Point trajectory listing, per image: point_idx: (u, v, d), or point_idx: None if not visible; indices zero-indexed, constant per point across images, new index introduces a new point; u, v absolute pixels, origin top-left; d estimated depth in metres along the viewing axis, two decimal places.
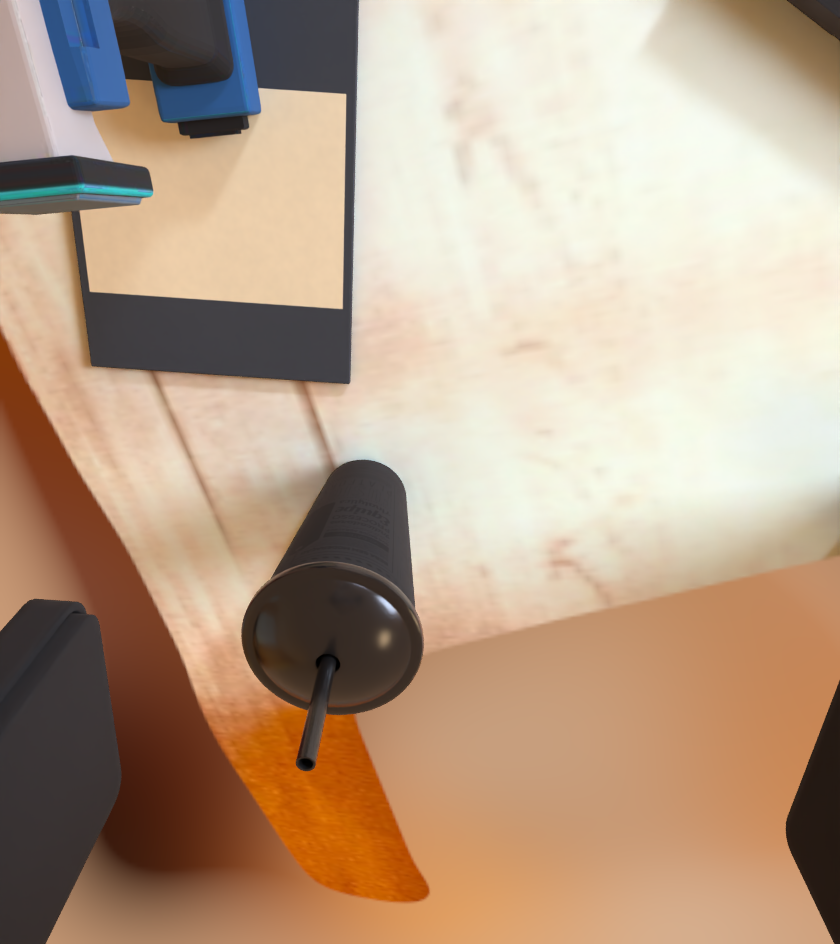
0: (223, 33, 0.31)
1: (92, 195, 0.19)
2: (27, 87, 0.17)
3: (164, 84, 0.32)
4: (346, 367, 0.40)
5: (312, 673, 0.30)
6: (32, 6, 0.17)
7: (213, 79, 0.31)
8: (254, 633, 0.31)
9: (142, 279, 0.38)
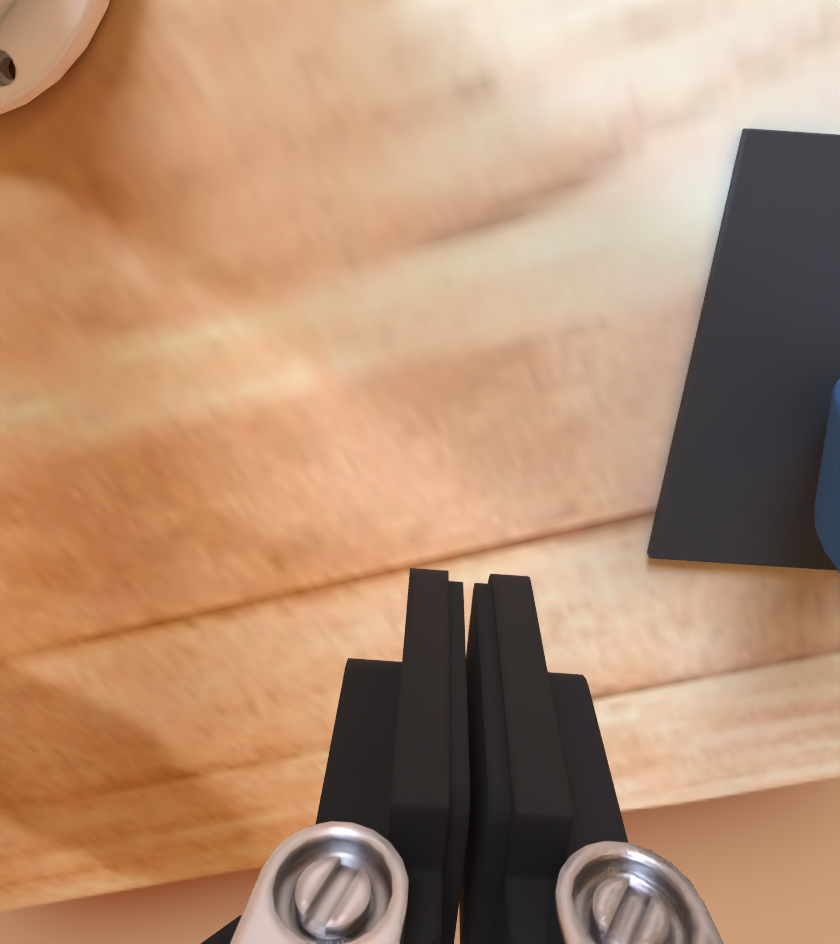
0: None
1: None
2: None
3: None
4: None
5: None
6: None
7: None
8: None
9: None
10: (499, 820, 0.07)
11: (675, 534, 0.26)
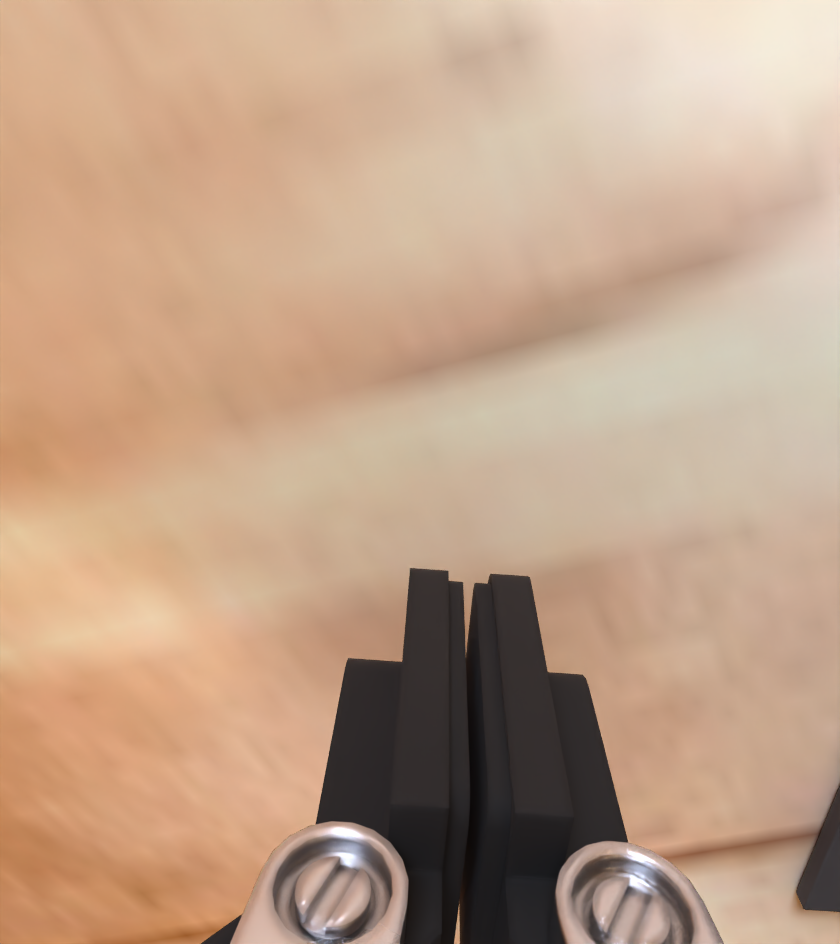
0: None
1: None
2: None
3: None
4: None
5: None
6: None
7: None
8: None
9: None
10: (498, 820, 0.07)
11: None
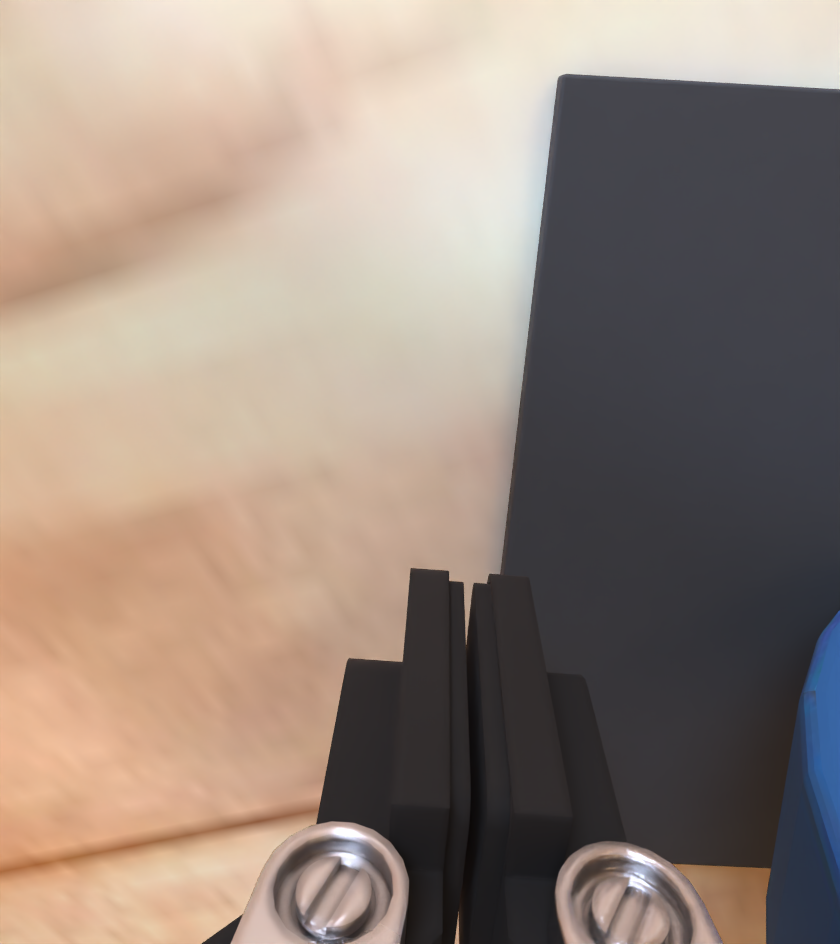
0: None
1: None
2: None
3: None
4: None
5: None
6: None
7: None
8: None
9: None
10: (497, 821, 0.07)
11: None
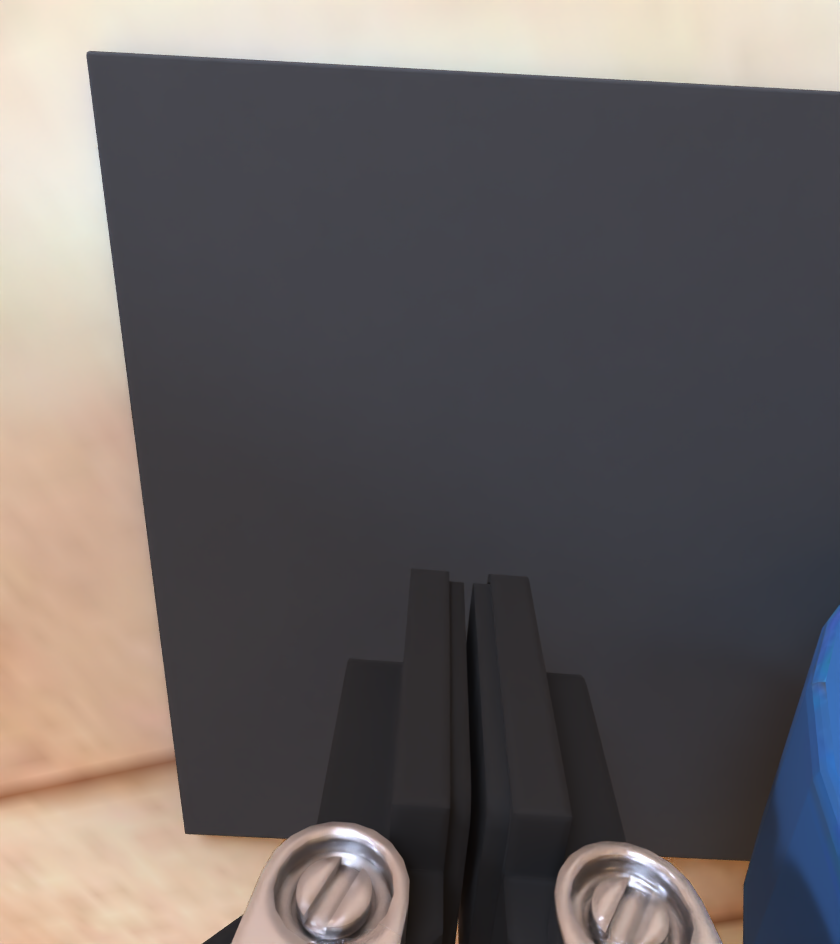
0: None
1: None
2: None
3: None
4: None
5: None
6: None
7: None
8: None
9: None
10: (497, 821, 0.07)
11: (215, 799, 0.15)
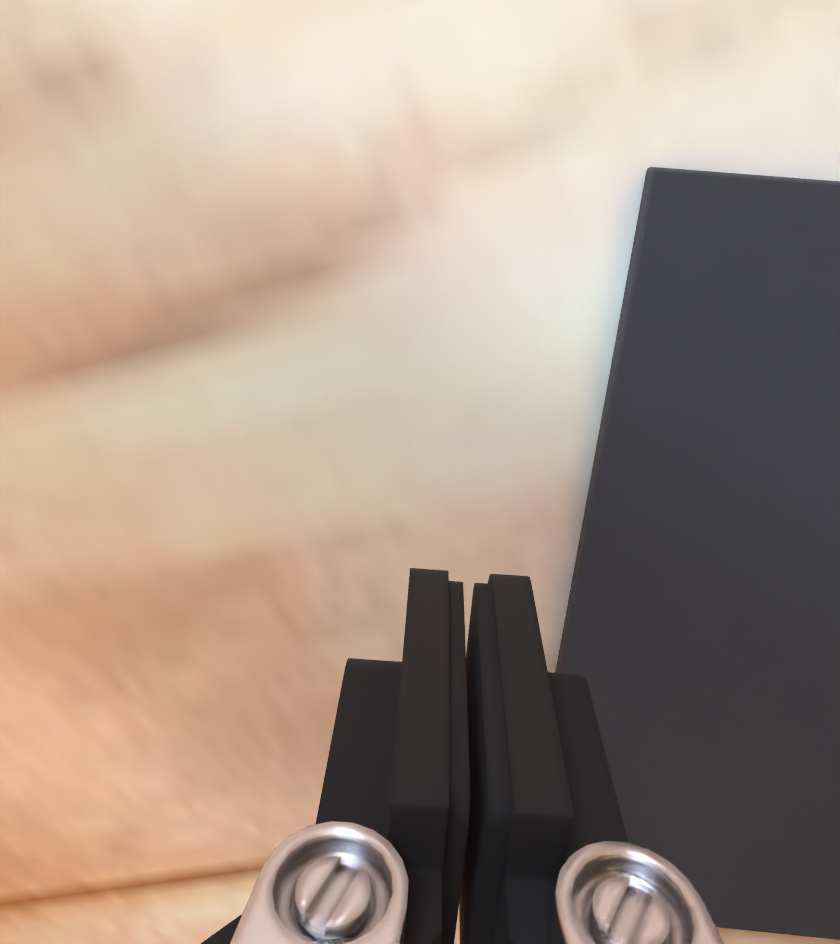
0: None
1: None
2: None
3: None
4: None
5: None
6: None
7: None
8: None
9: None
10: (499, 820, 0.07)
11: None
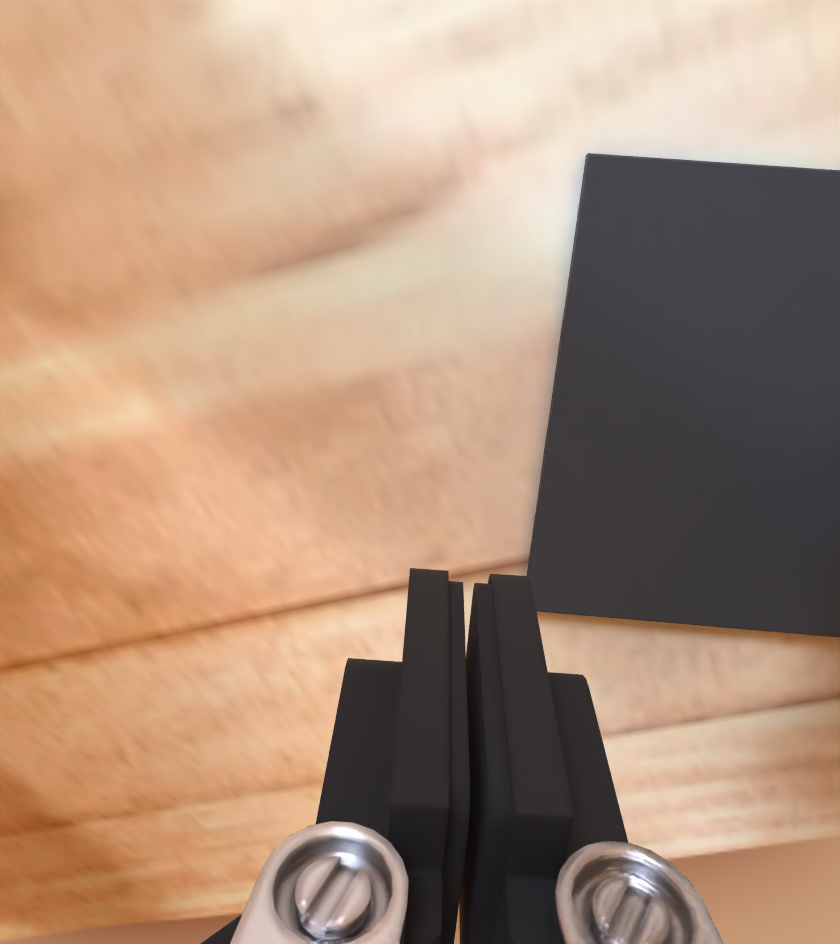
0: None
1: None
2: None
3: None
4: None
5: None
6: None
7: None
8: None
9: None
10: (499, 820, 0.07)
11: (549, 585, 0.24)
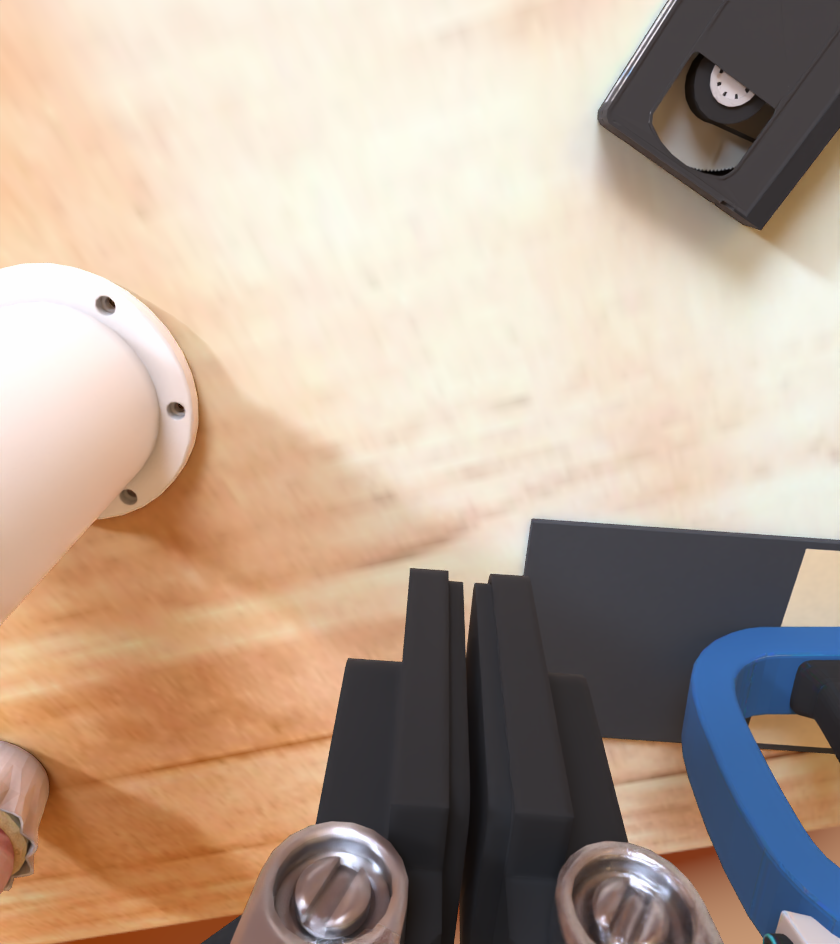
0: None
1: None
2: None
3: None
4: None
5: None
6: None
7: None
8: None
9: None
10: (498, 821, 0.07)
11: None
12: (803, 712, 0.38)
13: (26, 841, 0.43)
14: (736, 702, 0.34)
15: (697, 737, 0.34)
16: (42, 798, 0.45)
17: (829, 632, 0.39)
